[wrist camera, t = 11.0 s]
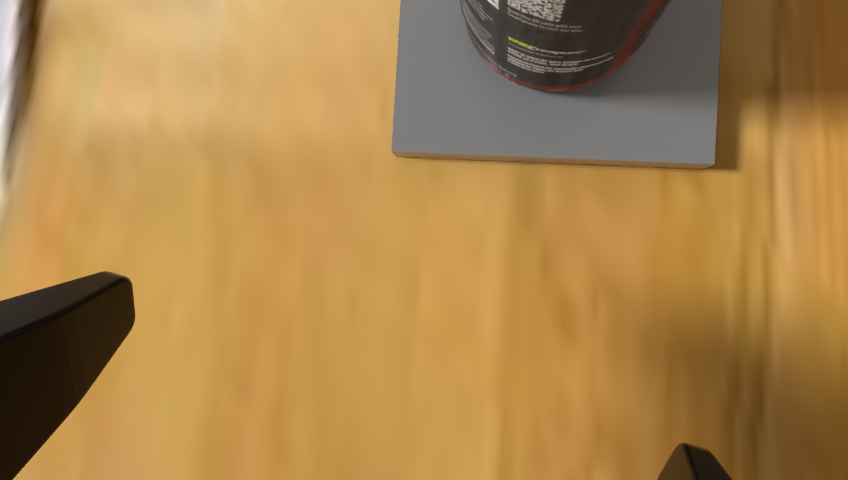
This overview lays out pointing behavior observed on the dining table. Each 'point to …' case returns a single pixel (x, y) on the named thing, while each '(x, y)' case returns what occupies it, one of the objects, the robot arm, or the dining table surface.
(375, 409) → the dining table surface
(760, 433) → the dining table surface
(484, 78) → the coaster
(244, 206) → the dining table surface
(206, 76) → the dining table surface
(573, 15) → the supplement bottle
